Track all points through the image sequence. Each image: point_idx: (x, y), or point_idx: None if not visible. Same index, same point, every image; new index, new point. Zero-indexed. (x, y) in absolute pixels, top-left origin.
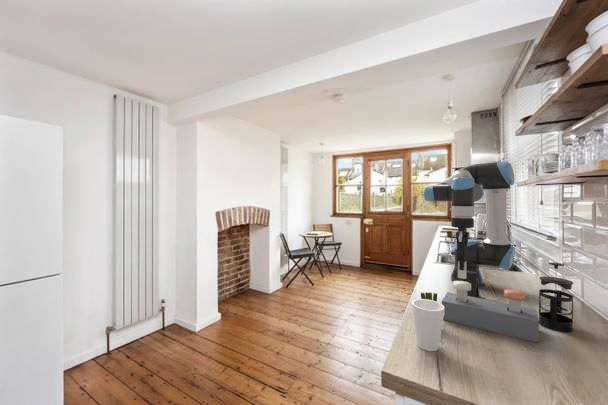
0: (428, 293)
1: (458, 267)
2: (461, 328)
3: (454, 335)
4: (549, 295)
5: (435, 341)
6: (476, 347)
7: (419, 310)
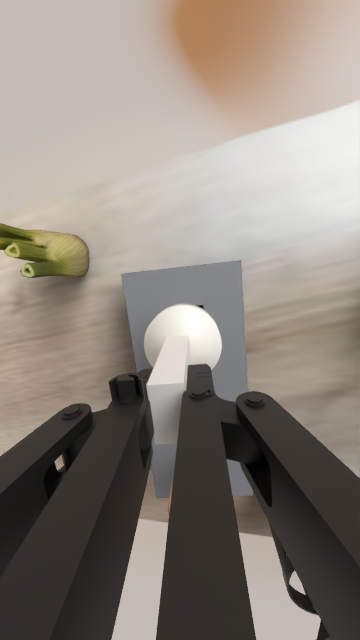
0: (10, 246)
1: (157, 364)
2: (118, 327)
3: (69, 323)
4: (292, 570)
5: None
6: (52, 368)
7: None
